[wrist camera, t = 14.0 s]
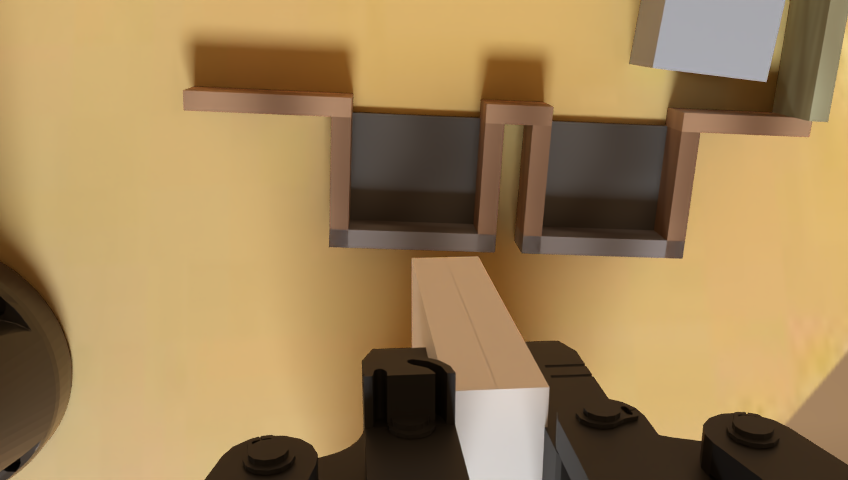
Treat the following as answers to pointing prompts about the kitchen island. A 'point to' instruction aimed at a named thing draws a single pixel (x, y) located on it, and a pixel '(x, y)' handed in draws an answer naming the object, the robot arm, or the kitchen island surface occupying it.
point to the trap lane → (539, 160)
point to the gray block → (708, 36)
